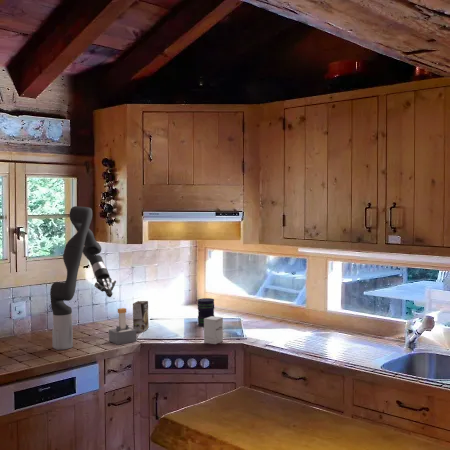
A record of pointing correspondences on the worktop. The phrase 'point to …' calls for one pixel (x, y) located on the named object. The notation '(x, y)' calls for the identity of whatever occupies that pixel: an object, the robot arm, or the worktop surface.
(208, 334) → the supplement box
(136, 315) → the coffee box
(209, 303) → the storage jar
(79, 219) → the robot arm
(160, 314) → the worktop surface
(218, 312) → the worktop surface
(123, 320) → the lever
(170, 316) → the worktop surface
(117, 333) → the block
